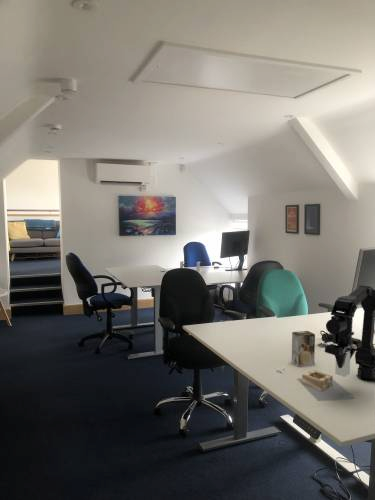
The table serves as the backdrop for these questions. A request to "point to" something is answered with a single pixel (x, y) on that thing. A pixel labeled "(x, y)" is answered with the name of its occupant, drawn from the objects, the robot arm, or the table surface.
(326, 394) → the rubber mat
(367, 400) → the table surface
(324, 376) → the wooden square frame
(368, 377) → the robot arm
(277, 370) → the pliers
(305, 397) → the table surface
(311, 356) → the coffee box
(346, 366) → the steel pin
